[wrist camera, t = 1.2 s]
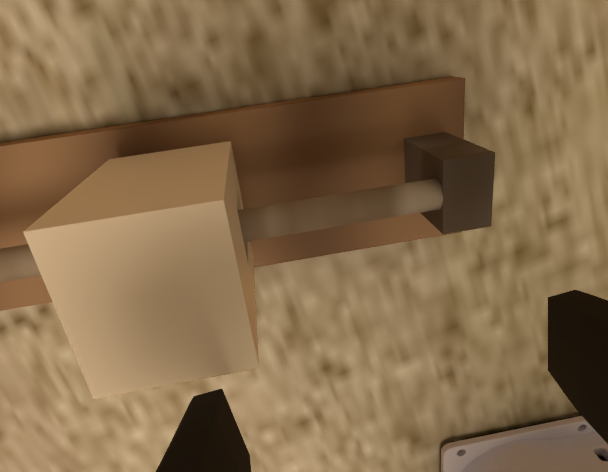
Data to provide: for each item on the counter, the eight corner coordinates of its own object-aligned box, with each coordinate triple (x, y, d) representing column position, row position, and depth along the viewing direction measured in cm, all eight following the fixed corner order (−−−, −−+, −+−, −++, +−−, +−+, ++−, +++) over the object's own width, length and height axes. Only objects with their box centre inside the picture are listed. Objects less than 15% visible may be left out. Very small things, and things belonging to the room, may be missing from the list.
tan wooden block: (230, 140, 15) (223, 199, 9) (253, 257, 16) (259, 368, 11) (108, 159, 14) (23, 231, 9) (145, 276, 16) (93, 399, 11)
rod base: (452, 76, 17) (546, 89, 11) (450, 223, 19) (527, 287, 14) (-212, 173, 15) (-447, 238, 10) (-121, 319, 17) (-272, 432, 12)
